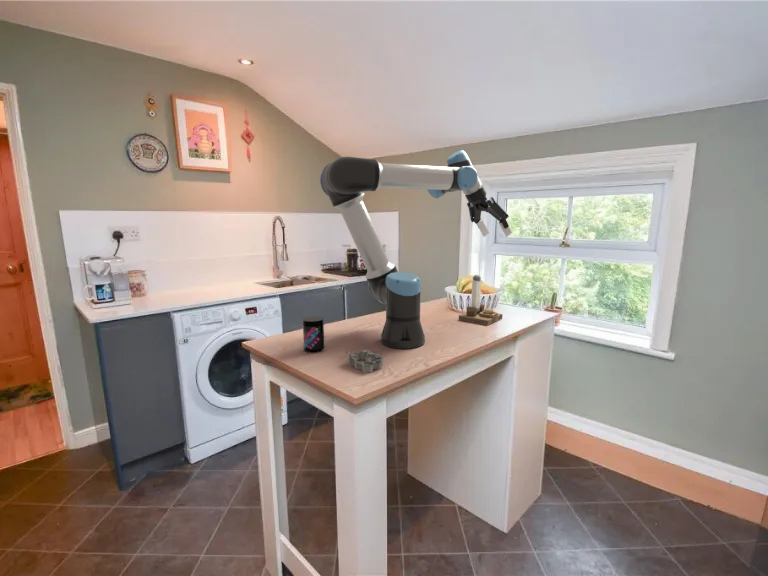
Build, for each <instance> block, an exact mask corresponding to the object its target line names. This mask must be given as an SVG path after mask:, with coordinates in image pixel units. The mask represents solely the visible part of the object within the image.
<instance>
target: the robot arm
mask: <svg viewBox="0 0 768 576" xmlns="http://www.w3.org/2000/svg"><path fill="white" fill-rule="evenodd" d="M446 163H447V166H443V165H441V166H440V165H439V166H438V165H420V164H405V163H404V164H402V163H401V164H400V163H386V162H385V163H384V162H379V160H378V159H375V158H373V159H372V158H363V157H356V156H355V157H354V156H342V157H338V158H337V159H335V160H333V161H331V162H330V163H328V164H326V166H325V167H324V168H323V170H322V172H321V174H320V176H319V177H320V178H319V184H320V188H321V189H322V192H323V193H324V194H325V195H326V196H327V197H329V200H330V202H331V204H332V206H333V208H334V209H337V210H339V212H340V213H341V215H342V217H343V221H344V222H345V224H346V226H347V229H348V231H349V233H350V236H351V238H352V240H353V242H354V244H355V247H356V249H357V251H358V254H359V255H360V258H361V260H362V262H363V264H364V266H365V269H366V270H367V272H366V274H365V279H366V281H367V283H368V284H367V285H368V286H367V287H368V292H369V293H370V295H371V298H373V299H374V300H375V301H376V302H378V303H381V304H383V305H384V306H385V322H384V325H383V329H382V331H381V334H380V343H381V344H382V345H384V346H385V347H388V348H392V349H400V350H401V349H402V350H403V349H404V350H405V349H415V348H418V347H419V348H420V347H421V346H424V345H425V342H426V336H425V333H424V329H423V326H422V323H421V293H422V292H421V291H422V286H421V279H420V277H419V276H418V275H416V274H414V273H409V272H402V271H401V272H400V271H398V269H397V267H396V264H395V263H394V262H391V261H389V258H388V256H387V254H386V252H385V249H384V247H383V244H382V242H381V240H380V237H379V234H378V233H377V229H376V227H375V226H374V224H373V221H372V219H371V216H370V214H369V211H368V209H367V207H366V204H365V203H364V197H365V192H376V191H377V190H378V189H398V190H399V189H401V190H402V189H403V190H405V189H406V190H427V192H428V194H429V195H430V196H431V197H433V198H434V199H439V198H441V197H443V196H444V195H445V194H447V193H451V192H456V191H462V193H463V194H464V195H465V198H466V200H467V201H468V202H467V203H466V204H467V205H466V206H467V207H468V211H469V217H470V218H469V219H470V222H471V223H474V224H476V225H477V227H478V229H479V230H480V233H481V235H482V237H486V236H487V235H488V234H490V232H489V230H488V229H487V226H486V224H485V223H484V220H482V218H481V216H482V212H485V213H488V214H490V215H491V216H492V217H493V218H495V219H496V220H497V221H499V222H498V224H499V226H500V229H501V230H502V233H503V234H504V236H505V237H507V238H508V236H510V235H511V234H512V230H511V228H510V225H509V223H508V221H507V219H508V218H510V216H509V214H508V213H507V212H506V211H505V210H504V209H503V208H502V207H501V205H499V204H498V202H497V201H496V200H495V198H494V197H493V196H491V197H489V198H487V191H486V189H485V187H484V185H482V182H481V179H480V178H479V176H478V172H477V169H475V168H474V165H473V164H472V162H471V159H470V157H469V156H468V154H467V153H466V150H465V151H464V150H458V151H456V152H454V153H453V154H451V155H450V156H449V157H447V159H446Z"/></svg>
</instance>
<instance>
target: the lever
mask: <svg viewBox="0 0 768 576" xmlns="http://www.w3.org/2000/svg"><path fill="white" fill-rule="evenodd" d="M481 289H482V279H481V276H480V275H479V274H474V275H473V277H472V280H471V301H470V302H471V305H470V307H476V308H477V309H476V313H477V312H479V311H480V304H481V295H482V294H481V293H482V291H481Z"/></svg>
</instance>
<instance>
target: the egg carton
mask: <svg viewBox="0 0 768 576" xmlns="http://www.w3.org/2000/svg"><path fill="white" fill-rule="evenodd" d="M345 354H347V355H348V358H347V365H348V366H349V365H352V366H353V365H354V368H355V369H356V368H357V370H361V372H362V371H363V372H362V373H364V372H365V373H369V372H371V373H373V372H374V370H383V359H384V358H385V355H384V356H382V355H379V354H378V353H375V352H372V351H371V350H369V349H364V350H360V351H359V352H356V351H355V352H354V354H352V352H350V351H345ZM359 360H361V361H359ZM363 360H364V361H363ZM357 361H358V362H357ZM373 369H374V370H373Z"/></svg>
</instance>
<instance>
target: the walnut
mask: <svg viewBox="0 0 768 576" xmlns="http://www.w3.org/2000/svg"><path fill="white" fill-rule="evenodd" d="M493 312H494V310H493V308H492V307H486V308H484V313H485V314H490V315H491V314H493Z"/></svg>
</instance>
